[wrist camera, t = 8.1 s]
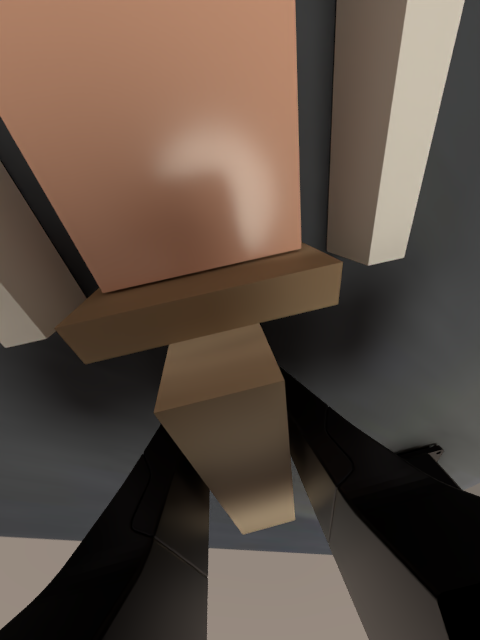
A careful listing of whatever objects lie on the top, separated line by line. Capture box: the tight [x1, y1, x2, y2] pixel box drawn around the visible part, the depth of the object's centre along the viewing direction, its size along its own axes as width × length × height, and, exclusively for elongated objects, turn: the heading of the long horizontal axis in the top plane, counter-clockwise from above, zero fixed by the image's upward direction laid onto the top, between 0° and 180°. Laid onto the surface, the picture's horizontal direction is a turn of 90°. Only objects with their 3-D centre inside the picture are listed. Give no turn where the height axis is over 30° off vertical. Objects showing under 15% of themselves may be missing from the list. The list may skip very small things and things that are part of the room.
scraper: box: [54, 242, 343, 534], centre depth 8 cm, size 11×7×5 cm, turn 11°
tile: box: [0, 0, 301, 293], centre depth 5 cm, size 6×6×2 cm
